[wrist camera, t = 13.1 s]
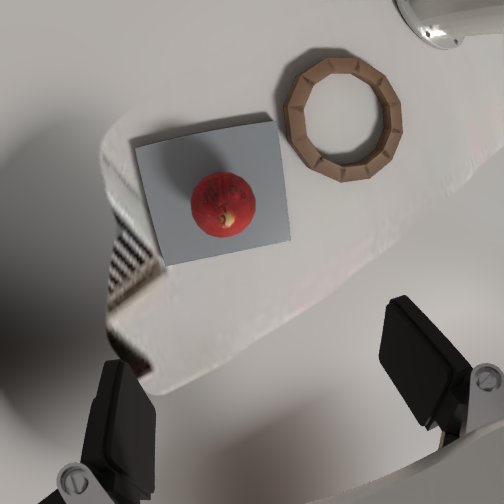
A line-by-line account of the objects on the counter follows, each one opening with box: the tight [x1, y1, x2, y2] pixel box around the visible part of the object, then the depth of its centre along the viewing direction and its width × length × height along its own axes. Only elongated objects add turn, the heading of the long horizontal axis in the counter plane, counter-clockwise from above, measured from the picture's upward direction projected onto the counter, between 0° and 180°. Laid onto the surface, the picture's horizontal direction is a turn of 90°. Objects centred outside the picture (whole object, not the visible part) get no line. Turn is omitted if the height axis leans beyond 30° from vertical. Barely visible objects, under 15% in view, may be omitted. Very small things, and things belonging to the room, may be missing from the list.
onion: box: [191, 172, 256, 238], centre depth 27 cm, size 6×6×8 cm
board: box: [135, 121, 291, 266], centre depth 31 cm, size 14×13×1 cm
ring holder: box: [283, 58, 403, 183], centre depth 29 cm, size 14×14×2 cm
